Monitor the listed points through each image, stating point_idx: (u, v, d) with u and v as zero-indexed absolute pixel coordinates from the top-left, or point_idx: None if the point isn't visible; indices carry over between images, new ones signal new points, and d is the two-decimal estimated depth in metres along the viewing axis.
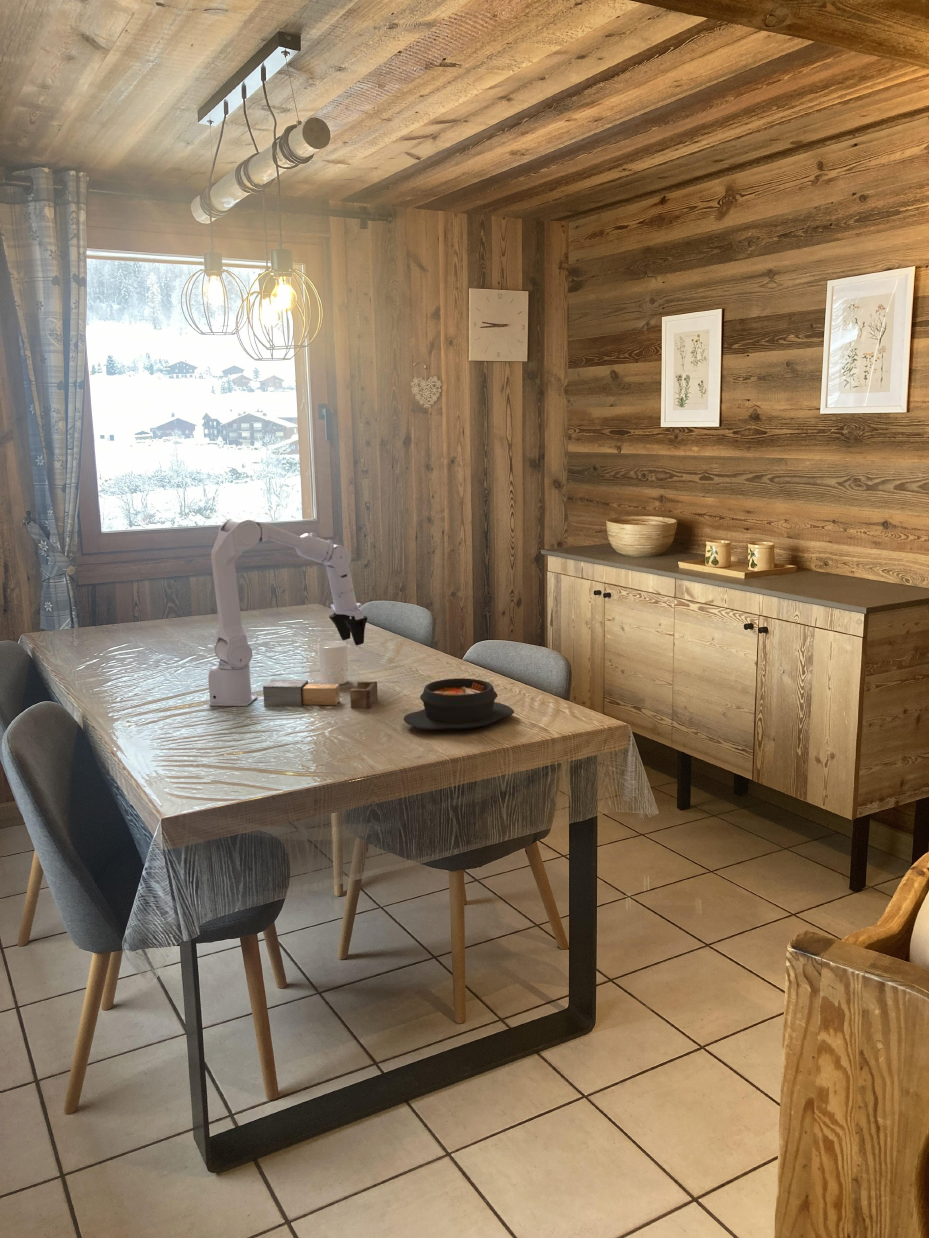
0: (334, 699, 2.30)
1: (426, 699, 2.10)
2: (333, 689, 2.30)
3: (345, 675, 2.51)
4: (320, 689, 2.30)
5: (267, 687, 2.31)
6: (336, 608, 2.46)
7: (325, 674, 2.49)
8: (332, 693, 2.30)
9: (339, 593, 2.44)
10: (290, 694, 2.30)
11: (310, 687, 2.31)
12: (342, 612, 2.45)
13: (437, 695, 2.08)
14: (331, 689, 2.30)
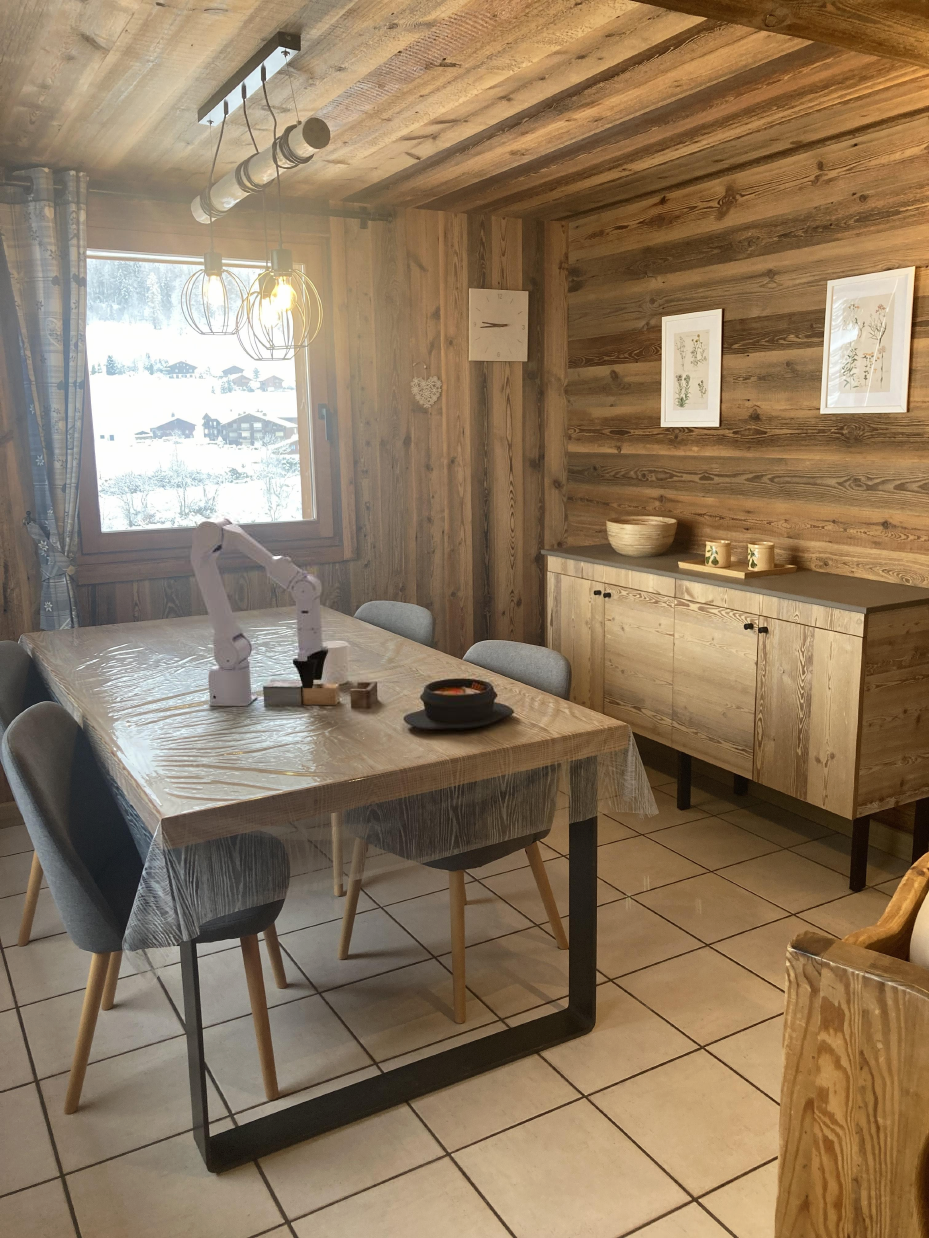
0: (334, 699, 2.30)
1: (426, 699, 2.10)
2: (333, 689, 2.30)
3: (345, 675, 2.51)
4: (320, 689, 2.30)
5: (267, 687, 2.31)
6: None
7: (325, 674, 2.49)
8: (332, 693, 2.30)
9: (298, 628, 2.28)
10: (290, 694, 2.30)
11: None
12: (297, 649, 2.29)
13: (437, 695, 2.08)
14: (331, 689, 2.30)
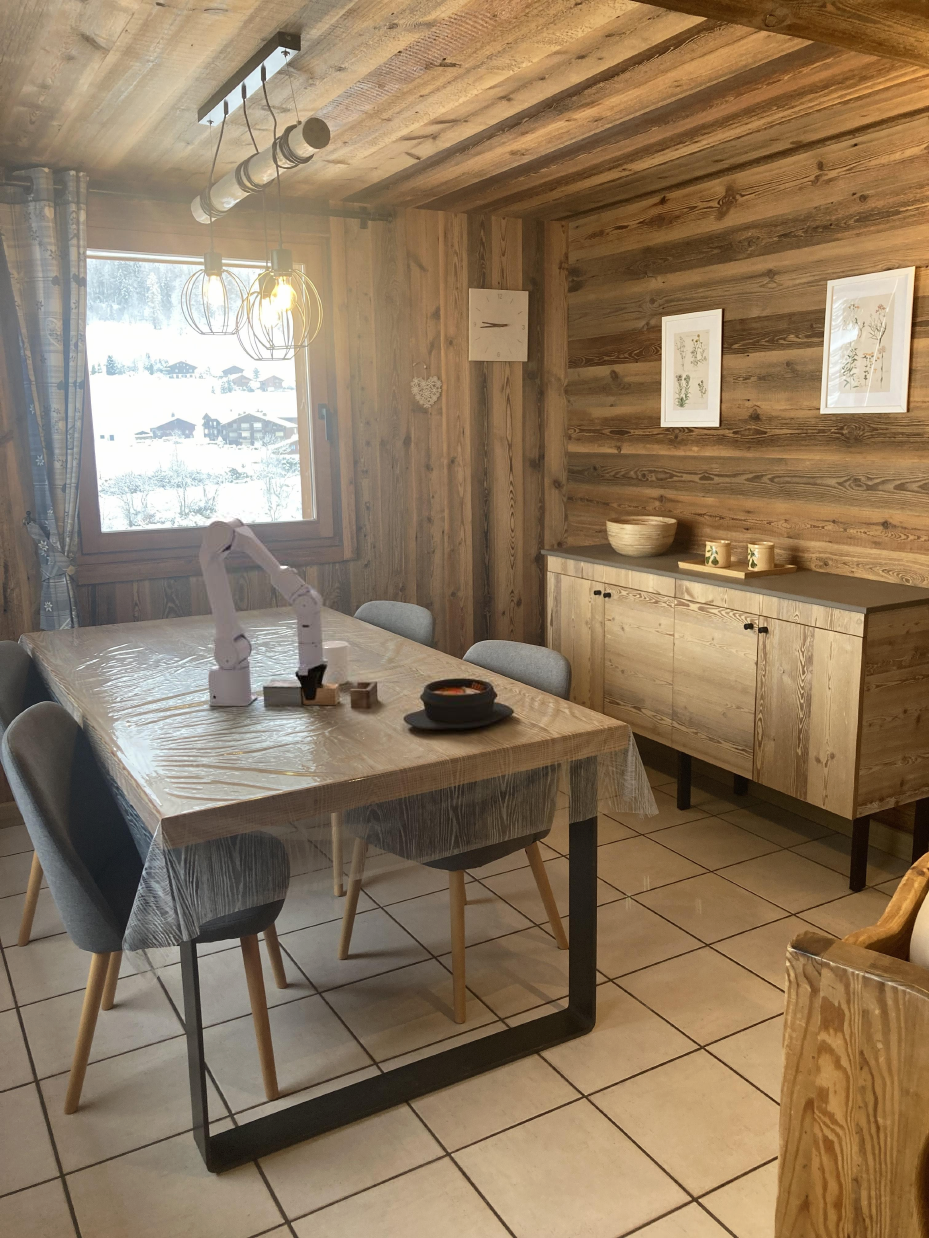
0: (334, 699, 2.30)
1: (426, 699, 2.10)
2: (333, 689, 2.30)
3: (345, 675, 2.51)
4: (320, 689, 2.30)
5: (267, 687, 2.31)
6: None
7: (325, 674, 2.49)
8: (332, 693, 2.30)
9: (299, 642, 2.29)
10: (290, 694, 2.30)
11: None
12: (298, 663, 2.29)
13: (437, 695, 2.08)
14: (331, 689, 2.30)
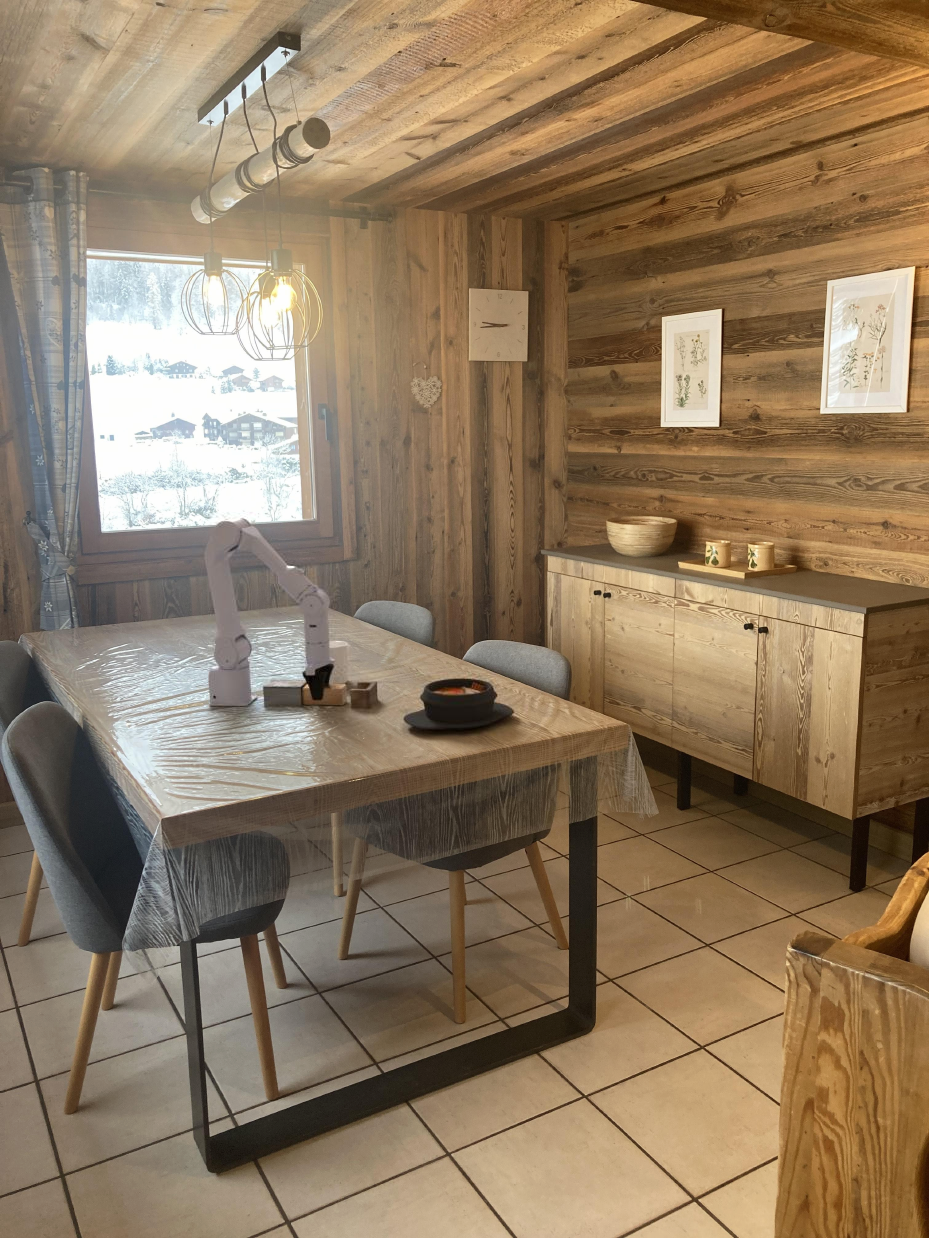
0: (341, 699, 2.30)
1: (426, 699, 2.10)
2: (340, 689, 2.30)
3: (345, 675, 2.51)
4: (327, 689, 2.30)
5: (267, 687, 2.31)
6: None
7: None
8: (339, 693, 2.30)
9: (306, 642, 2.28)
10: (290, 694, 2.30)
11: None
12: (305, 663, 2.29)
13: (437, 695, 2.08)
14: (338, 689, 2.30)
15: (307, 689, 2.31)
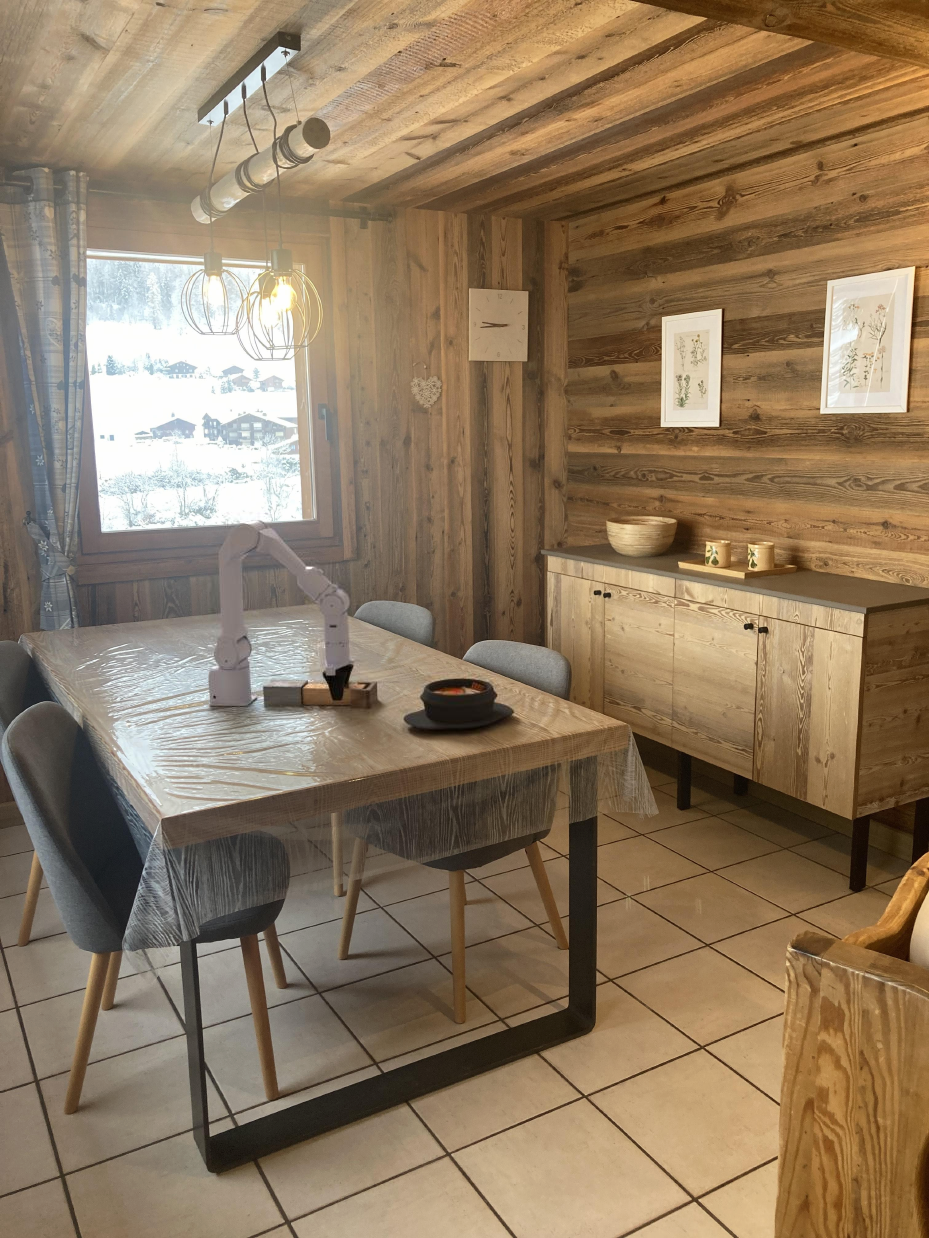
0: None
1: (426, 699, 2.10)
2: None
3: None
4: (347, 689, 2.29)
5: (267, 687, 2.31)
6: (325, 657, 2.30)
7: None
8: None
9: (326, 642, 2.28)
10: (290, 694, 2.30)
11: None
12: (325, 663, 2.28)
13: (437, 695, 2.08)
14: None
15: (327, 689, 2.30)
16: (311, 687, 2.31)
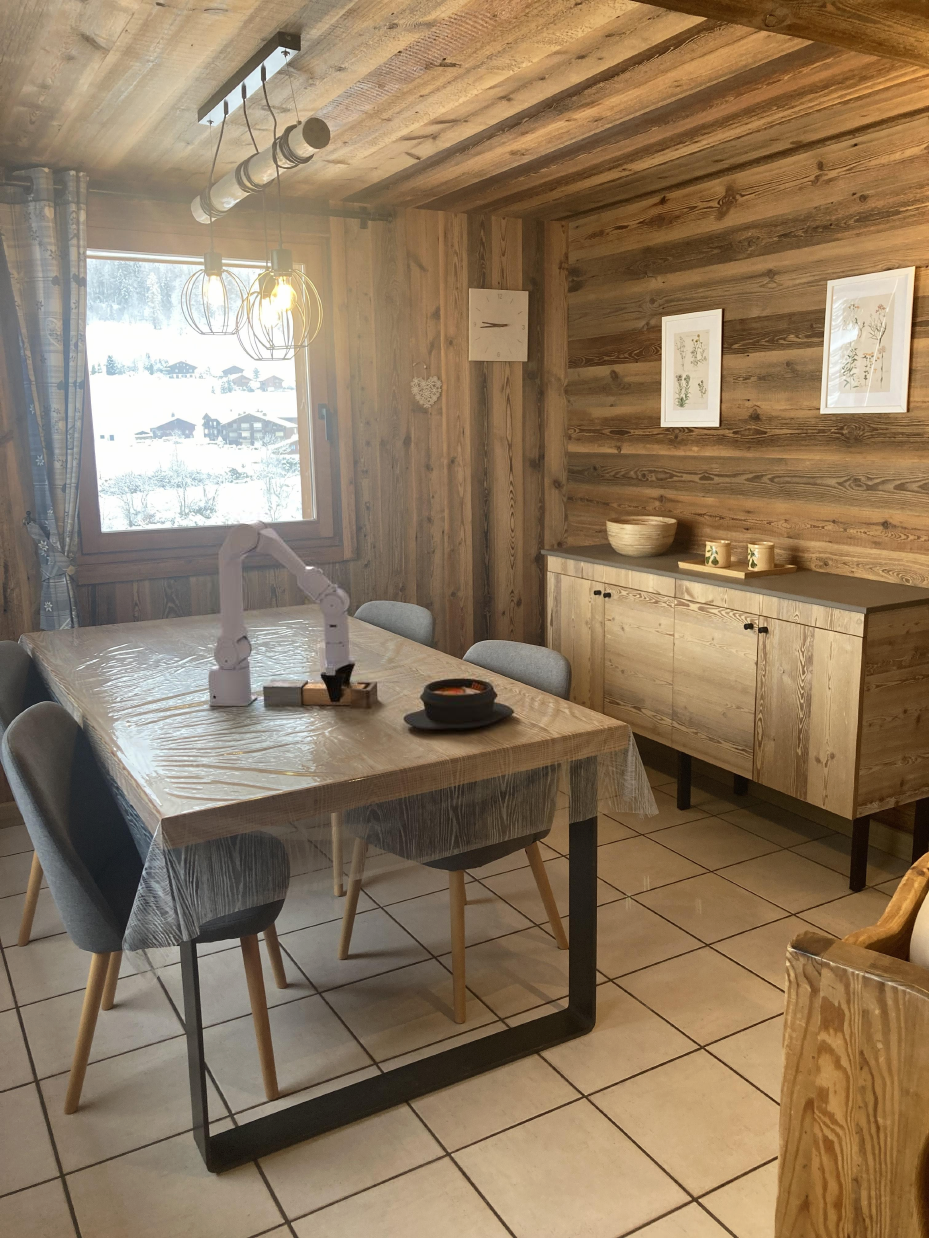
0: None
1: (426, 699, 2.10)
2: None
3: None
4: (347, 689, 2.29)
5: (267, 687, 2.31)
6: None
7: None
8: None
9: (326, 642, 2.28)
10: (290, 694, 2.30)
11: None
12: (325, 663, 2.28)
13: (437, 695, 2.08)
14: None
15: None
16: (311, 687, 2.31)
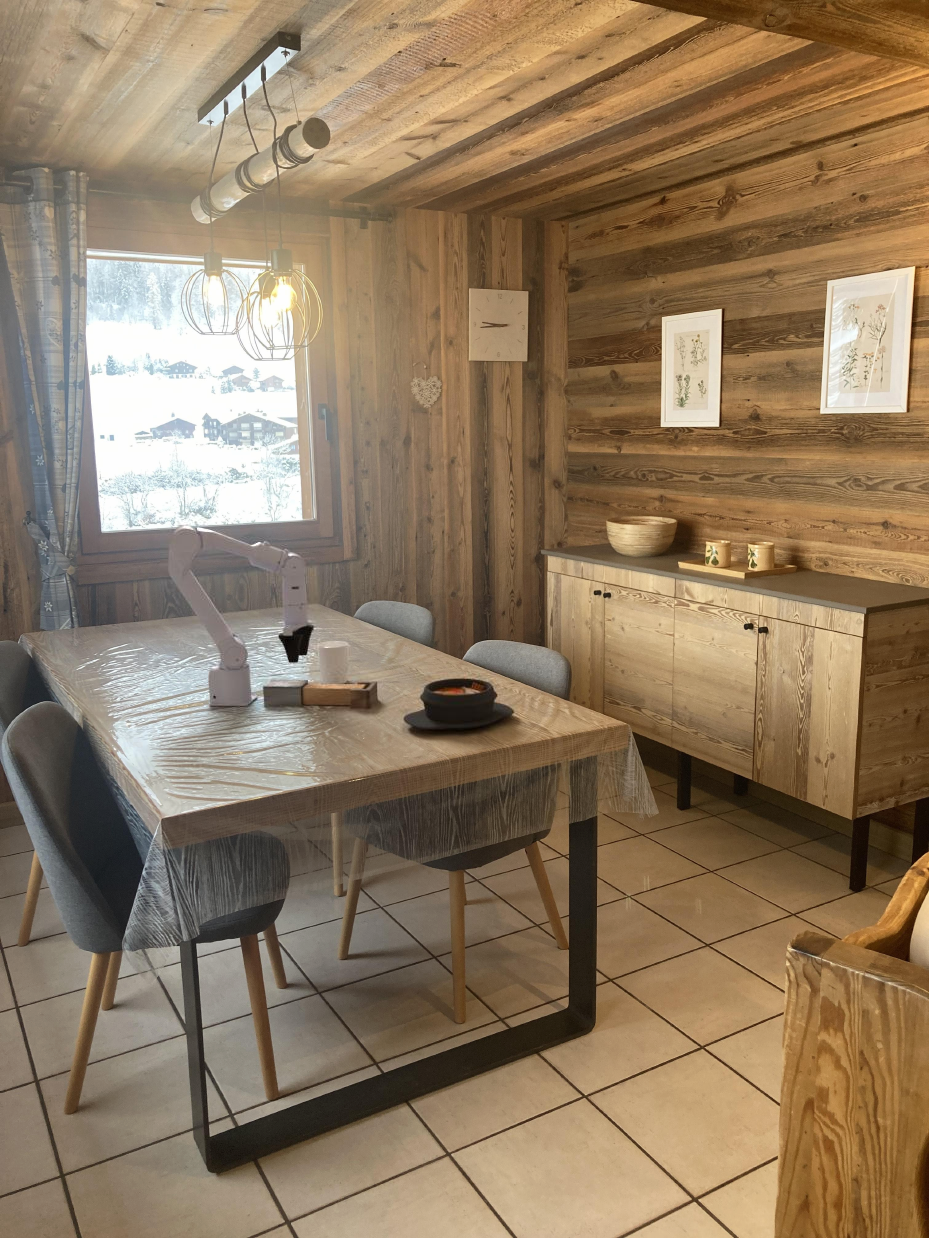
0: None
1: (426, 699, 2.10)
2: None
3: (345, 675, 2.51)
4: (347, 689, 2.29)
5: (267, 687, 2.31)
6: None
7: (325, 674, 2.49)
8: None
9: (284, 604, 2.34)
10: (290, 694, 2.30)
11: (337, 687, 2.30)
12: (283, 624, 2.34)
13: (437, 695, 2.08)
14: None
15: (327, 689, 2.30)
16: (311, 687, 2.31)
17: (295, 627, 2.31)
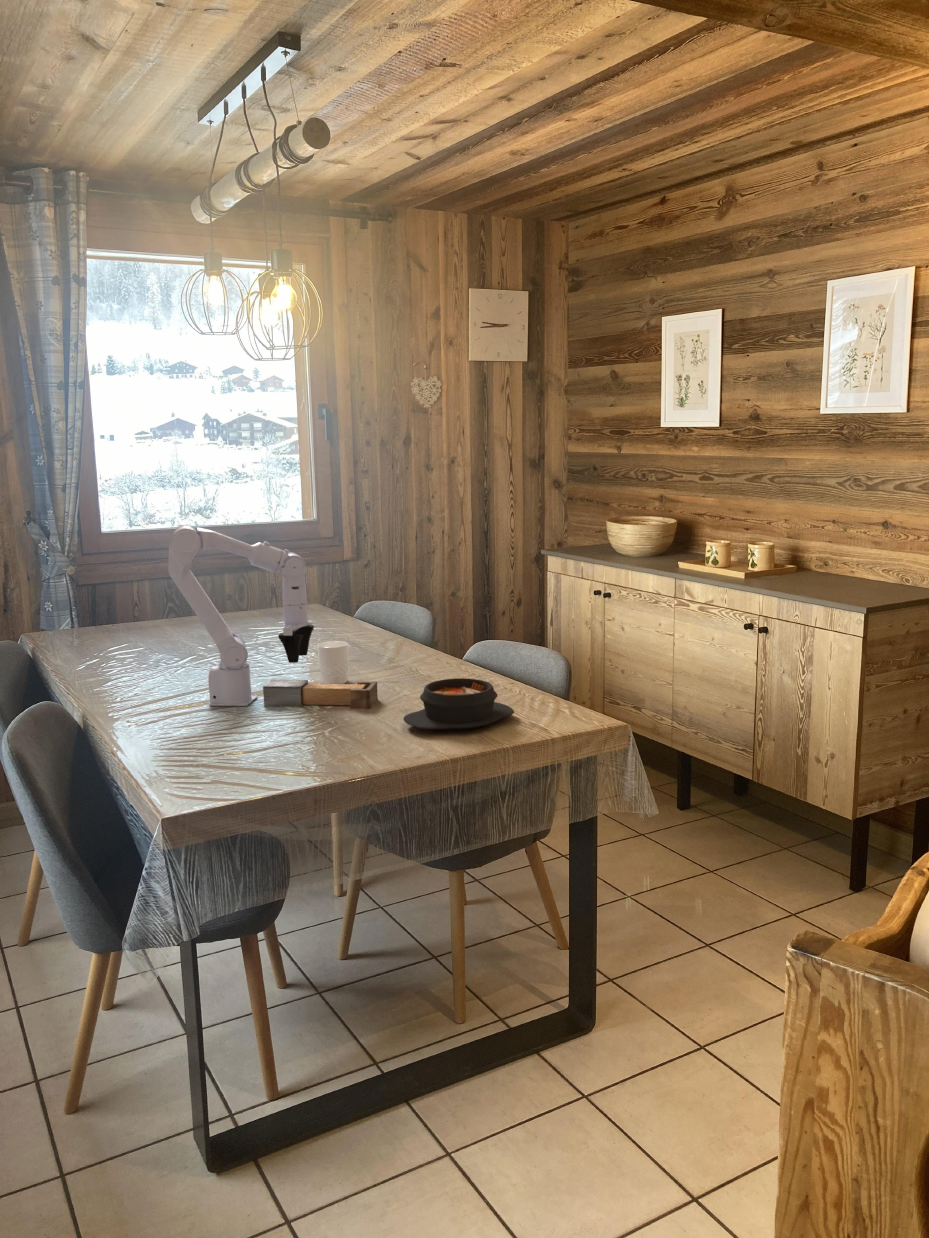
0: None
1: (426, 699, 2.10)
2: None
3: (345, 675, 2.51)
4: (347, 689, 2.29)
5: (267, 687, 2.31)
6: None
7: (325, 674, 2.49)
8: None
9: (284, 604, 2.34)
10: (290, 694, 2.30)
11: (337, 687, 2.30)
12: (283, 624, 2.34)
13: (437, 695, 2.08)
14: None
15: (327, 689, 2.30)
16: (311, 687, 2.31)
17: (295, 627, 2.31)
